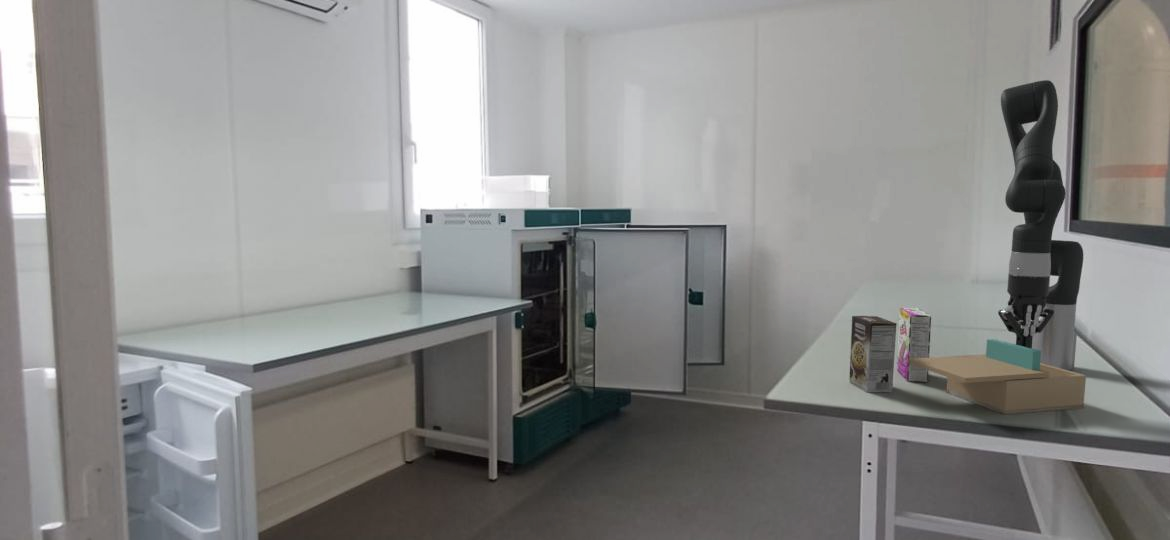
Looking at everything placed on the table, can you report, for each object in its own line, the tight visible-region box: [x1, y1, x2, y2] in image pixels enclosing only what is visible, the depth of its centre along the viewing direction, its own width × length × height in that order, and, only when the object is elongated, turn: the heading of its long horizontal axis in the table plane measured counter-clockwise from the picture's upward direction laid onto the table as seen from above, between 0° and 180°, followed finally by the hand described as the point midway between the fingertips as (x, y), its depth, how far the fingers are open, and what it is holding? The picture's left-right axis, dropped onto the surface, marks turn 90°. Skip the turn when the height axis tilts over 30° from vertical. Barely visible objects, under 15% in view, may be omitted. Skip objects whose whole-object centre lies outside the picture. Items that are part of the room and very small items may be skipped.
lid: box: [908, 338, 1049, 383], centre depth 146 cm, size 21×17×5 cm
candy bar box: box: [896, 307, 932, 383], centre depth 168 cm, size 11×5×16 cm, turn 168°
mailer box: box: [946, 363, 1087, 415], centre depth 149 cm, size 20×16×7 cm
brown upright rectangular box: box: [848, 315, 897, 393], centre depth 159 cm, size 9×6×16 cm
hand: (1023, 352), depth 149 cm, fingers closed
